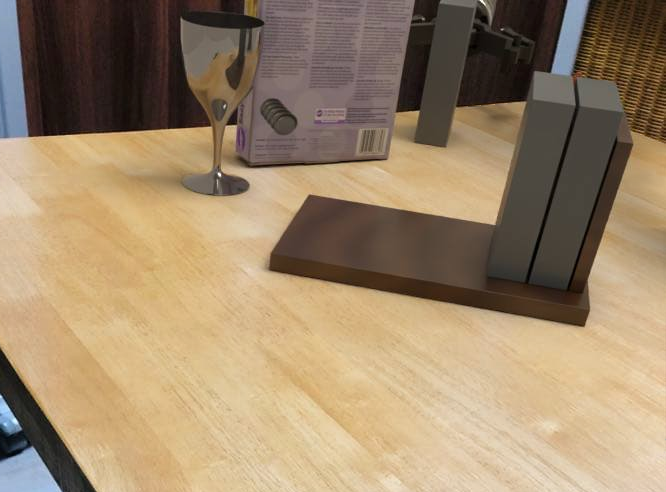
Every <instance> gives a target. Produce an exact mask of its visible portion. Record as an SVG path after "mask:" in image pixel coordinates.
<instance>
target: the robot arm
mask: <svg viewBox="0 0 666 492" xmlns="http://www.w3.org/2000/svg"><path fill="white" fill-rule="evenodd" d="M497 2H498V0H478V2H477V7H476V12H475V17H474V22H473V27H472V32H471V37H470V41H469V46H468V51H467V56H466V59H469V58H471V57H472V56H474V55H476V54H477V55H482V54H485V55H486V54H488V55H491V56H493V57H495V58H499V59H500V60H501V62H500V66H499V67H500V68H499V72H498V73H500V74H506V72H507V68H508V64H513V65H515V64H517V63H518V62H519V63H522V64H523V65H529V64H530V63H531V61H532V57H533V53H534V48H535V44H536V42H535V41H533V40H531V39H530V38H527V37H526V36H524V35H523V34H519V33H518V32H515V31H514V30H513V29H512V28H511V27H510V26H504V27H502V28H500V29H499V32H496V31H493V30H492V25H493V22H494V19H495V14H496V10H497V9H496V8H497V7H496V5H497ZM436 18H437V17H433V18H432V19H431V21H430V22H426V18H425V17H424V16H423V15H422V14H416V15H413V16H412V19H411V25H410V30H409V36H408V42H407V47H413V46H428V47H431V46H432V40H433V34H434V29H435V23H436Z"/></svg>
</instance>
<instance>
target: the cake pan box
mask: <svg viewBox="0 0 666 492" xmlns="http://www.w3.org/2000/svg"><path fill="white" fill-rule="evenodd" d="M415 1H416V0H244V6H243V7H244V8H243V15H248V16H252V17H255V18H258V19H260V20H262V21H264V23H265V28H264V43H263V52H262V58H261V63H260V68H259V72H258V76H257V79H256V82H255V85H254V87H253V89H252V91H251V92H250V93H249V95H248V96H247V97H246V98H245V99H244V101H243V102H242V103H241V104H240V105H239V106H238V107H237V120H236V131H235V132H236V133H235V135H236V136H235V148H234V149H235V150H234V151H235V152H236V154H238V155H239V156H240V157H241V158H242V159H243V160H244V161H245V162H246V163H247V165H249V166H263V165H280V164H281V165H282V164H283V165H284V164H326V163H337V162H344V161H345V162H346V161H364V160H365V161H366V160H388V159H389V155H390V149H391V145H392V144H391V143H392V138H393V133H394V128H395V121H396V115H397V114H396V112H397V108H398V107H397V106H398V100H399V95H400V88H401V82H402V75H403V70H404V63H405V58H406V53H407V47H408V46H407V42H408V36H409V30H410V25H411V19H412V17H413V14H414V7H415Z"/></svg>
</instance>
